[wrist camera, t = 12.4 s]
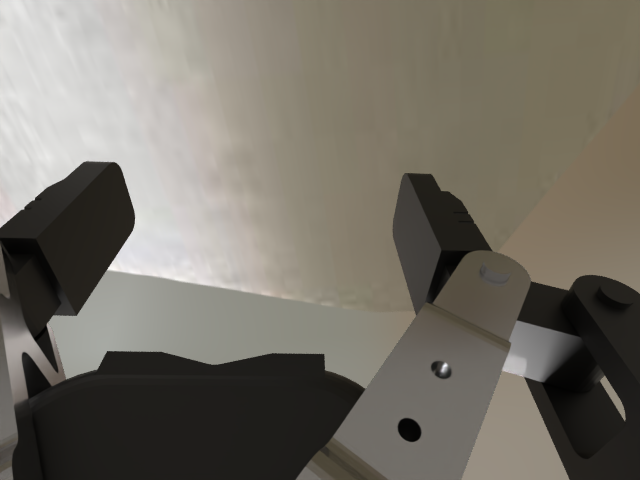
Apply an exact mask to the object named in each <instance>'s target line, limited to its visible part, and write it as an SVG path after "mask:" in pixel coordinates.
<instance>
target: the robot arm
mask: <svg viewBox="0 0 640 480" xmlns="http://www.w3.org/2000/svg"><path fill="white" fill-rule="evenodd" d="M24 208H25V209H24V210H21V211H20V212H18V213H17V214H16V215H15V216H14V217H13V218H11V219H10V220H9V221H8V222H7V223H6V224H4V225H3V226H2V227H1V228H0V480H461V478H462V476H463V473H464V470H465V468H466V465H467V462H468V460H469V457H470V455H471V452H472V449H473V447H474V444H475V441H476V439H477V436H478V433H479V431H480V428H481V425H482V423H483V420H484V417H485V415H486V412H487V409H488V406H489V404H490V401H491V399H492V396H493V393H494V391H495V388H496V385H497V383H498V380H499V377H500V375H501V372H502V371H506V372H509V373H513V374H516V375H519V376H523V377H524V378H525V380H526V382H527V384H528V387H529V389H530V391H531V394H532V396H533V398H534V400H535V403H536V405H537V407H538V409H539V412H540V414H541V416H542V418H543V420H544V423H545V425H546V427H547V430H548V431H549V434H550V436H551V439H552V441H553V443H554V445H555V447H556V450H557V452H558V454H559V456H560V459H561V461H562V463H563V466H564V468H565V470H566V472H567V475H568V477H569V479H570V480H640V294H639V293H638V292H637V291H635V290H634V289H632V288H630V287H629V286H627V285H625V284H623V283H621V282H618V281H616V280H613V279H610V278H607V277H603V276H596V275H585V276H581V277H579V278H577V279H576V280H575V282H574V283H573V285H572V286H571V288H570V289H569V291H568V290H564V289H559V288H556V287H551V286H547V285H543V284H539V283H535V282H532V281H531V279H530V276H529V274H528V272H527V271H526V270H525V268H524V267H523V266H522V265H520V264H519V263H518V262H516V261H515V260H513V259H512V258H510V257H508V256H505V255H503V254H500V253H497V252H493V251H492V250H491V248H490V246H489V245H488V243H487V242H486V240H485V238H484V237H483V235H482V234H481V232H480V230H479V229H478V227H477V226H476V224H474V221H473V219H472V217H471V216H470V214H468V211H467V209H466V208H465V206H464V205H463V203H462V201H460V200H459V199H458V198H456V197H455V196H454V195H452V194H451V193H450V192H448V191H441V190H440V188H439V186H438V184H437V183H436V181H435V179H434V177H433V176H432V175H431V174H416V173H405V174H404V175H403V177H402V180H401V185H400V190H399V194H398V199H397V204H396V209H395V214H394V219H393V238H394V242H395V245H396V249H397V252H398V256H399V259H400V262H401V266H402V269H403V273H404V276H405V279H406V283H407V286H408V290H409V293H410V296H411V300H412V303H413V307H414V310H415V313H416V317H415V319H414V320H413V321H412V323H411V324H410V326H409V327H408V329H407V330H406V332H405V333H404V334H403V336H402V337H401V339H400V340H399V342H398V343H397V345H396V346H395V347H394V349H393V350H392V352H391V353H390V355H389V356H388V358H387V359H386V360H385V362H384V363H383V365H382V366H381V368H380V369H379V371H378V372H377V374H376V375H375V376H374V378H373V379H372V381H371V382H370V384H369V385H368V387H367V388H366V389H365V388H363V387H362V386H360V385H359V384H357V383H356V382H353V381H351V380H350V379H348V378H346V377H343V376H341V375H338V374H336V373H333V372H329V371H325V361H324V354H277V353H275V354H274V353H272V354H267V355H262V356H258V357H253V358H248V359H243V360H238V361H233V362H229V363H224V364H219V365H211V364H206V363H202V362H198V361H194V360H190V359H186V358H183V357H179V356H175V355H171V354H167V353H163V352H123V351H121V352H119V351H114V352H113V351H107V353H106V354H105V357H104V358H103V360H102V362H101V364H100V366H99V368H98V369H97V370H94V371H90V372H87V373H84V374H80V375H77V376H74V377H72V378H69V379H67V380H66V377H65V373H64V369H63V366H62V362H61V358H60V355H59V351H58V347H57V344H56V340H55V336H54V333H53V330H52V328H51V326H50V325H49V323H48V322H49V320H50V319H51V317H52V316H53V315H63V316H67V315H68V316H77V314H78V313H79V311H80V310H81V308H82V307H83V305H84V304H85V302H86V301H87V299H88V298H89V296H90V295H91V293H92V292H93V290H94V289H95V287H96V286H97V284H98V282H99V281H100V279H101V278H102V276H103V275H104V273H105V272H106V270H107V269H108V267H109V266H110V264H111V263H112V261H113V260H114V258H115V257H116V255H117V254H118V252H119V251H120V249H121V248H122V246H123V245H124V243H125V242H126V240H127V239H128V237H129V236H130V234H131V233H132V231H133V228H134V224H135V213H134V209H133V205H132V202H131V199H130V196H129V192H128V189H127V186H126V183H125V179H124V176H123V173H122V170H121V168H120V166H119V165H118V164H117V163H115V162H89V161H86V162H83V163H82V164H81V165H80V166H79V167H78V168H76V169H75V170H74V171H73V172H72V173H71V174H70V175H69V176H67V177H66V178H65V179H64V180H62V181H60V182H58V183H55V184H53V185H51V186H49V187H47V188H46V189H45V190H44V191H43V192H42V193H40V194H39V195H38V196H37V197H36V198H35V201H33V200H32V201H31V202H30V203H29V204H28V205H26V206H25V207H24ZM604 375H605V376H606V378H607V379H608V381H609V382H610V384H611V386H612V387H613V389H614V390H615V392H616V393H617V395H618V397H619V398H620V400H621V402H622V404H623V406H624V410H625V416H626V420H625V421H624V420H623V418H622V416H621V415H620V413H619V411H618V410H617V408H616V406H615V405H614V403H613V402H612V400H611V399H610V397H609V395H608V394H607V392H606V390H605V389H604V387H603V386H602V384H601V382H600V380H601V379H602V378H603V377H604Z"/></svg>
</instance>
